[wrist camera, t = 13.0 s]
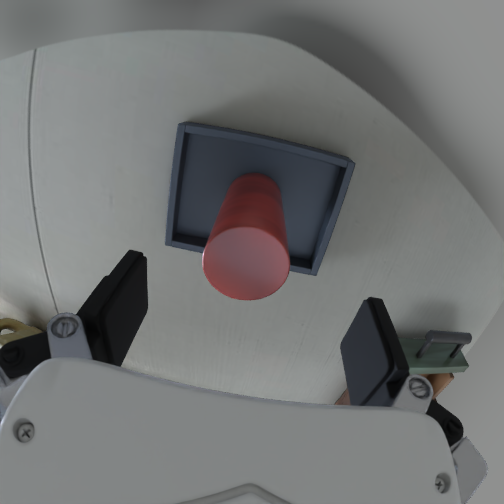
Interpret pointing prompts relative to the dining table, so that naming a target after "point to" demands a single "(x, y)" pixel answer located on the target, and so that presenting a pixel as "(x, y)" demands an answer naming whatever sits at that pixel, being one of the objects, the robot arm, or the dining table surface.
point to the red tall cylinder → (248, 240)
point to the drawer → (436, 356)
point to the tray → (264, 162)
